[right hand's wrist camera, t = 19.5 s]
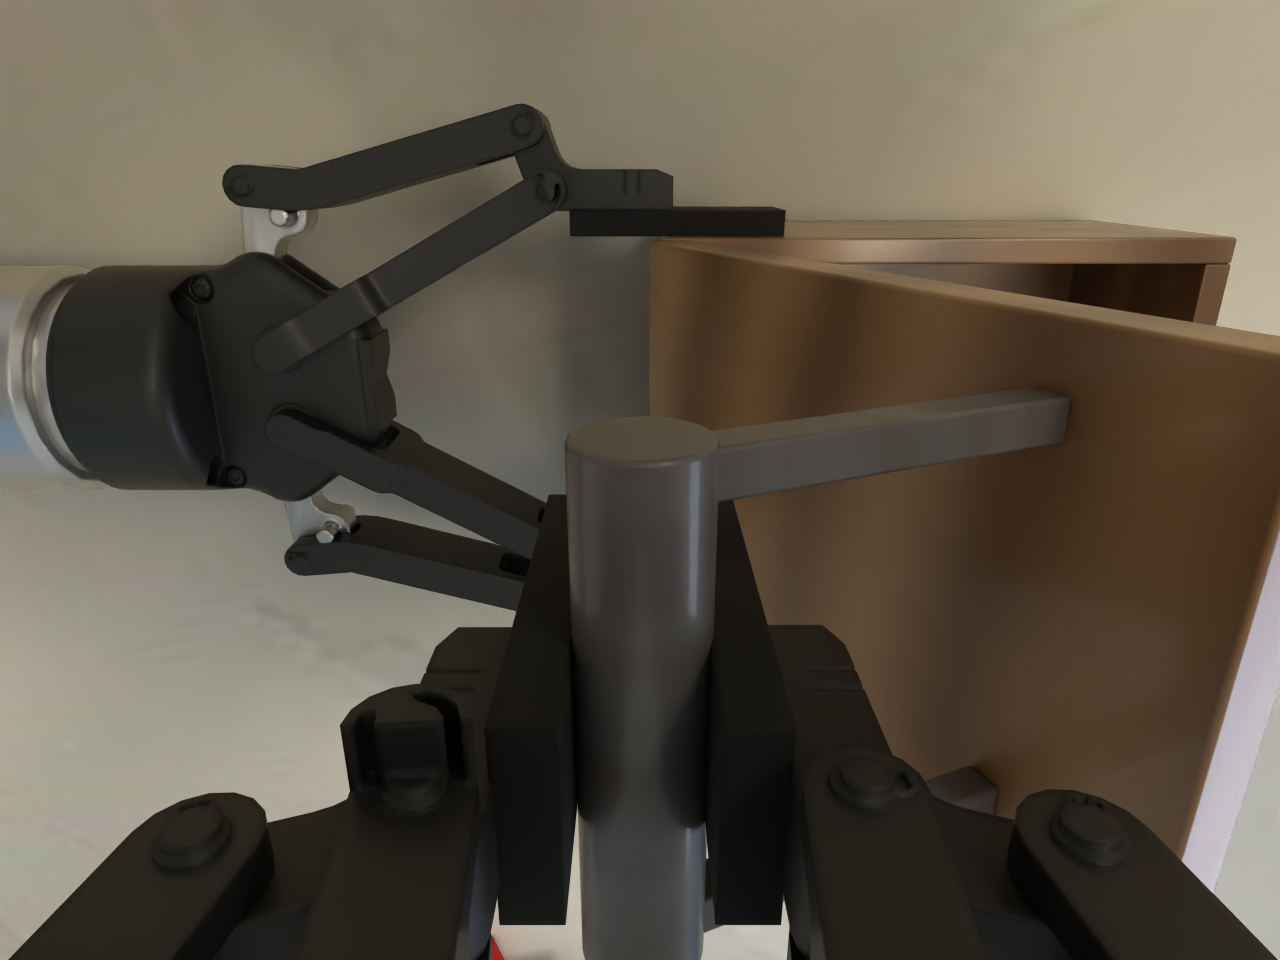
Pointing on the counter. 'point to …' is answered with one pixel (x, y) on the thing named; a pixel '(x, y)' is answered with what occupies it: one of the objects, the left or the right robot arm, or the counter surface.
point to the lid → (924, 555)
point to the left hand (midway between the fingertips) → (768, 379)
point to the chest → (1026, 259)
